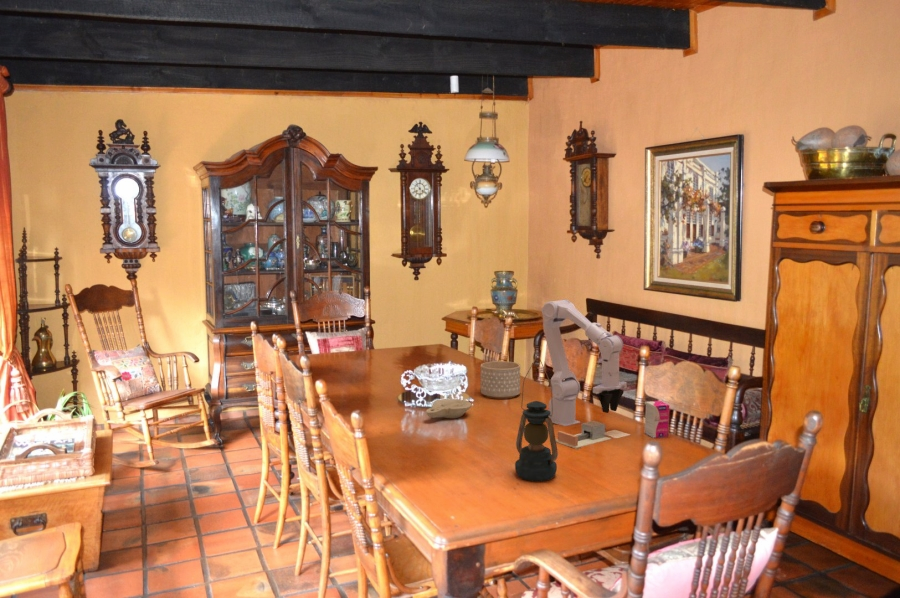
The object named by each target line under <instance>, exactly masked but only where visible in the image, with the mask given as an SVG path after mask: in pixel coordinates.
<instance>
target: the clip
mask: <svg viewBox="0 0 900 598" xmlns="http://www.w3.org/2000/svg"><path fill="white" fill-rule="evenodd" d="M580 427H581V431H580V432H581V434H585V433H589V432H590V439H591V440H594V439H598V438H602V437H606V435H605V432H606V423H603V422H600V421H596V420H591V421H586V422H582V423H581V426H580Z"/></svg>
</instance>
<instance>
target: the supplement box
mask: <svg viewBox="0 0 900 598" xmlns="http://www.w3.org/2000/svg"><path fill="white" fill-rule="evenodd" d="M644 418H645V419H644V435H646V436H648V437H650V438H652V439H658V438H661V439H662V438H668V437H669V423H670V422H669V420H670V404H668V403H666V402H664V401H662V400H654V401H653V400H652V401H645V416H644Z"/></svg>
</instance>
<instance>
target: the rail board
mask: <svg viewBox="0 0 900 598" xmlns="http://www.w3.org/2000/svg"><path fill="white" fill-rule="evenodd" d="M555 439H556V444H557V443H558V444H560V445H563V446H567V447H570V448H572V449H575V450H579V449H582V448H583V447H586V446H587V447H588V446H590V445H593V444H598V443H602V442H605V441H610V440H612V437H609V436H605V437H602V438H598V439H594V440H591V439H590V432H589V433H585V434H581V433H576V434H572V433H568V432H565V431H563V430H557V438H555Z"/></svg>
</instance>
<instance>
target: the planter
mask: <svg viewBox="0 0 900 598" xmlns="http://www.w3.org/2000/svg"><path fill="white" fill-rule="evenodd" d="M480 393H481V395H484V396H485V397H487V398H490V399H497V400H498V399H499V400H500V399H501V400H506V399H507V400H508V399H511V398H512V397H513V398H515V397H516V396H517V395H519V394H521V364H519V363H517V362H513V361H505V360H504V361H503V360H498V361H497V360H496V361H494V360H493V361H486V362H483V363H481V364H480Z"/></svg>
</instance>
